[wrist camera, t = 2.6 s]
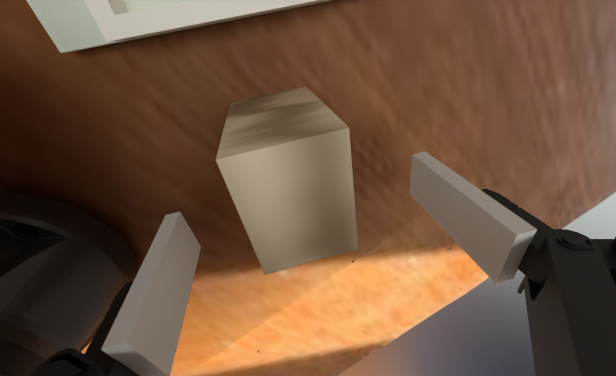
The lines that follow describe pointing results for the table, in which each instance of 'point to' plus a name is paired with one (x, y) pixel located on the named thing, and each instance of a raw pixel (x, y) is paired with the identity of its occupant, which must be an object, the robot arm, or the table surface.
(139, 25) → the chassis bay
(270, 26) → the table surface
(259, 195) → the tan wooden block
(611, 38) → the table surface
